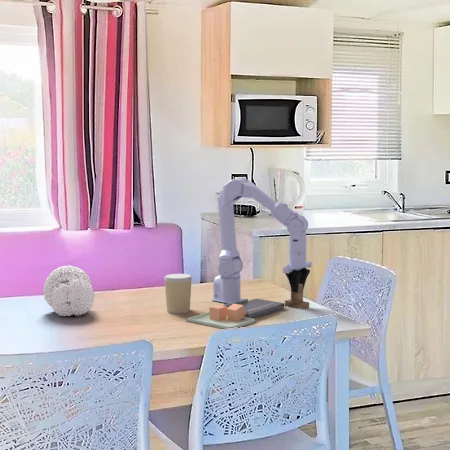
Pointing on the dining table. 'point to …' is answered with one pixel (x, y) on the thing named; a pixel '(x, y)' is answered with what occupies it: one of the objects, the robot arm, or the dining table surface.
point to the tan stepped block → (297, 299)
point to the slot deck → (258, 307)
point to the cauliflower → (69, 291)
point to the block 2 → (235, 312)
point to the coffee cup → (178, 292)
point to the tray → (225, 323)
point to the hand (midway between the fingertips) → (297, 290)
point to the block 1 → (218, 312)
